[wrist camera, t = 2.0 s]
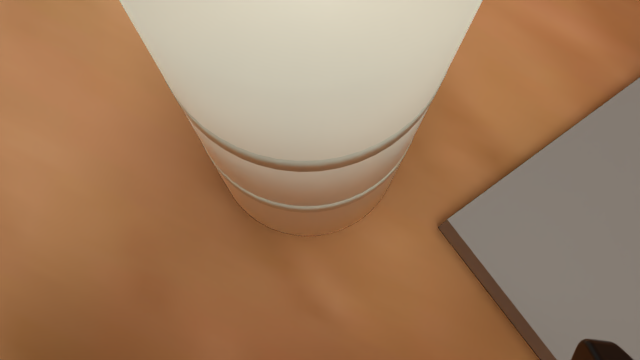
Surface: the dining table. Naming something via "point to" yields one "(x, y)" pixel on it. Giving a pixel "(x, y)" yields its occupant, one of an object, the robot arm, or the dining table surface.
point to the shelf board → (565, 235)
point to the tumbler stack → (304, 94)
